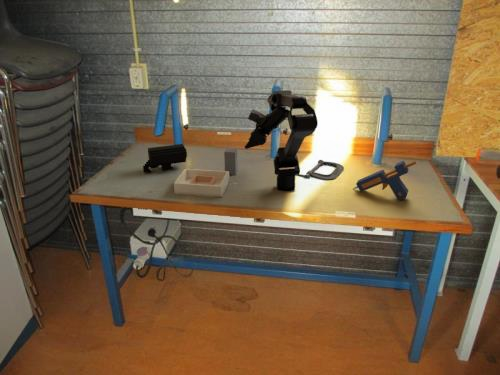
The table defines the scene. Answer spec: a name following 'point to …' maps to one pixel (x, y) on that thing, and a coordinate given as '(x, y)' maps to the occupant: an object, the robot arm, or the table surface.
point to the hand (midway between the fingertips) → (247, 144)
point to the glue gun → (387, 180)
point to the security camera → (165, 157)
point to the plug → (231, 161)
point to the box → (202, 183)
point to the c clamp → (321, 176)
